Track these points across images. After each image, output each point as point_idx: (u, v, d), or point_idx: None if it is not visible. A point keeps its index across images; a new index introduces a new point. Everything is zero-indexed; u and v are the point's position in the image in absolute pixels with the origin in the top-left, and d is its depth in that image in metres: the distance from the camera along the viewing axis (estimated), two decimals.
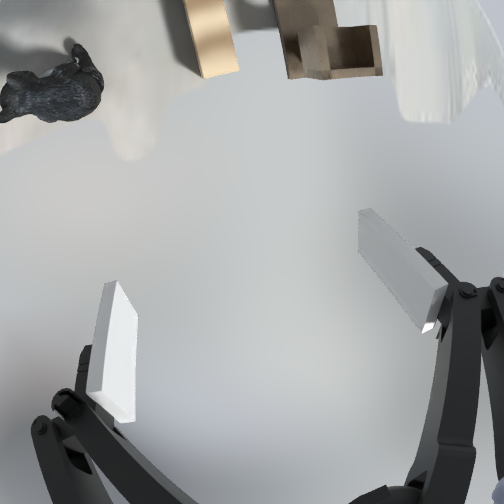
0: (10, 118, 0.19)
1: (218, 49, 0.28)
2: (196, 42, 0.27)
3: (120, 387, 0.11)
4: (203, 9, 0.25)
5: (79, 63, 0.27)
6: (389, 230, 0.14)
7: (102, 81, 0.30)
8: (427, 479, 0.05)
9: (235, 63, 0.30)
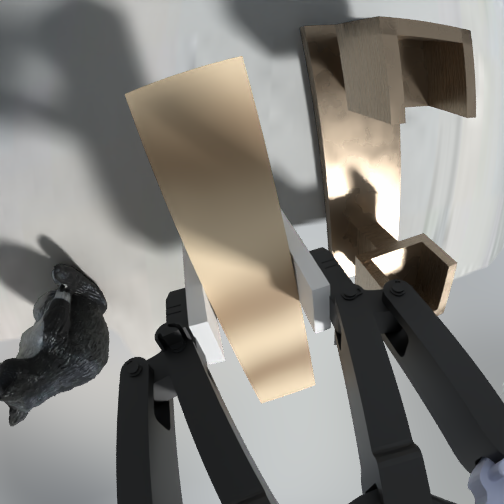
0: None
1: (284, 372, 0.18)
2: (246, 371, 0.17)
3: (214, 325, 0.13)
4: (258, 323, 0.15)
5: (69, 287, 0.24)
6: (289, 231, 0.15)
7: (103, 300, 0.27)
8: (379, 493, 0.05)
9: (310, 380, 0.20)
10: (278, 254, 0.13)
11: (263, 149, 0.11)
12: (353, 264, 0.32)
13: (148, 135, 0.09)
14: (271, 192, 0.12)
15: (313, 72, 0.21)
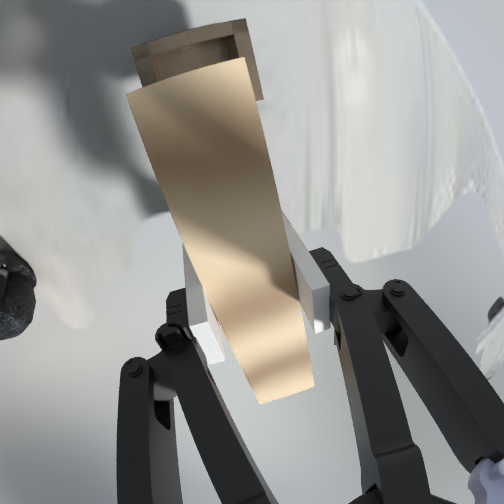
0: None
1: (283, 374, 0.18)
2: (246, 373, 0.17)
3: (214, 325, 0.13)
4: (258, 324, 0.15)
5: (7, 266, 0.29)
6: (289, 231, 0.15)
7: (33, 276, 0.32)
8: (379, 493, 0.05)
9: (309, 381, 0.20)
10: (278, 256, 0.13)
11: (264, 150, 0.11)
12: None
13: (149, 136, 0.09)
14: (272, 194, 0.12)
15: None
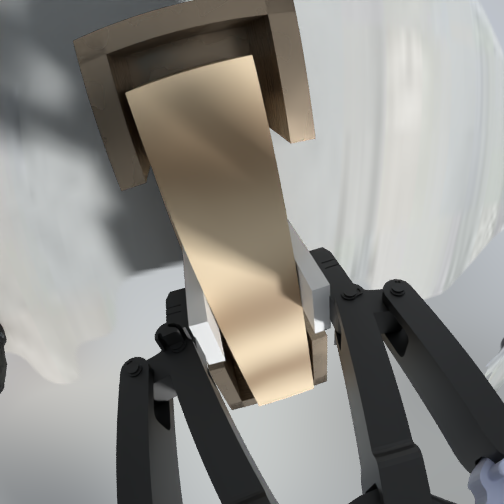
0: None
1: (284, 377, 0.18)
2: (246, 376, 0.17)
3: (214, 325, 0.13)
4: (259, 329, 0.15)
5: None
6: None
7: (1, 333, 0.24)
8: (379, 493, 0.05)
9: (309, 383, 0.19)
10: (282, 262, 0.13)
11: (271, 154, 0.10)
12: None
13: (150, 137, 0.09)
14: (278, 199, 0.11)
15: None
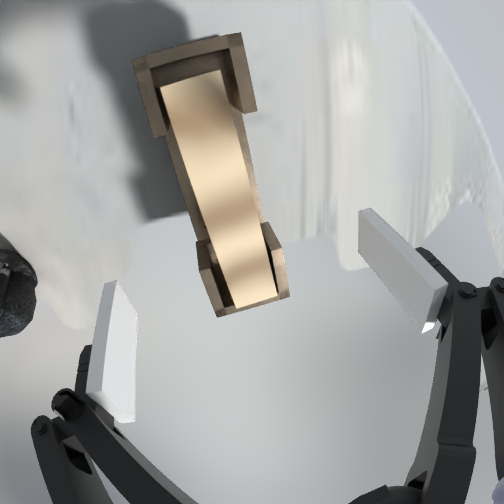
0: None
1: (252, 277, 0.27)
2: (224, 272, 0.26)
3: (120, 387, 0.11)
4: (230, 228, 0.24)
5: (9, 266, 0.30)
6: (389, 230, 0.14)
7: (34, 276, 0.33)
8: (427, 479, 0.05)
9: (273, 289, 0.28)
10: (241, 179, 0.22)
11: (231, 117, 0.19)
12: None
13: (171, 109, 0.18)
14: (236, 141, 0.20)
15: None
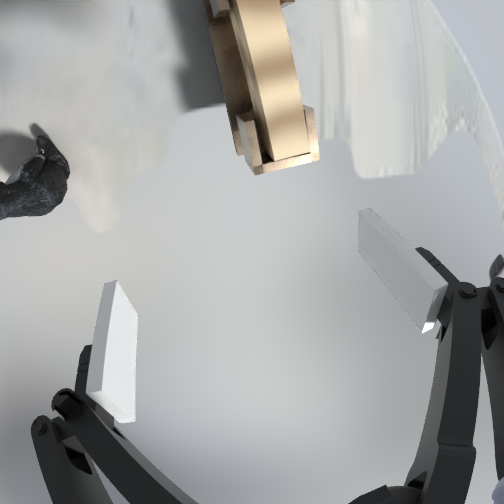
0: None
1: (289, 128, 0.29)
2: (267, 120, 0.29)
3: (120, 387, 0.11)
4: (274, 80, 0.26)
5: (45, 153, 0.32)
6: (389, 230, 0.14)
7: (67, 167, 0.35)
8: (427, 479, 0.05)
9: (306, 144, 0.31)
10: (284, 42, 0.24)
11: (278, 0, 0.22)
12: None
13: None
14: (281, 15, 0.23)
15: (204, 6, 0.28)
